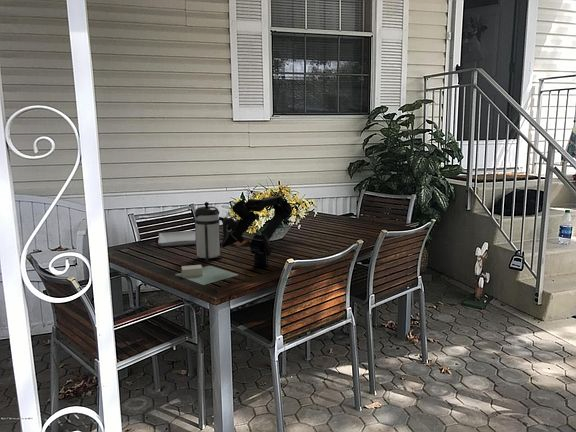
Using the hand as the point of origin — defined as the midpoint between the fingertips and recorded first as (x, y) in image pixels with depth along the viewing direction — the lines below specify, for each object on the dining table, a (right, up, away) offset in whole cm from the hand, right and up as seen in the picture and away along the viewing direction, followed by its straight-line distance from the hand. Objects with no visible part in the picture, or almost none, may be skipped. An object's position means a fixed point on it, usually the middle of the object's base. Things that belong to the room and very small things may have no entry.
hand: (222, 246), depth 215 cm
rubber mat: (-7, -13, -2) cm, 15 cm away
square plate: (-34, -2, +67) cm, 75 cm away
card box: (-9, -11, -1) cm, 14 cm away
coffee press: (-10, -8, +28) cm, 31 cm away
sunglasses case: (0, -3, +59) cm, 59 cm away
